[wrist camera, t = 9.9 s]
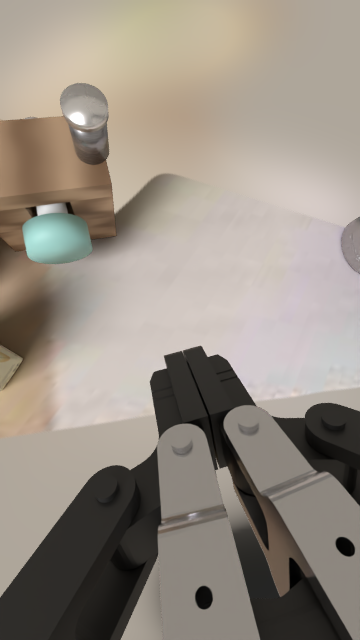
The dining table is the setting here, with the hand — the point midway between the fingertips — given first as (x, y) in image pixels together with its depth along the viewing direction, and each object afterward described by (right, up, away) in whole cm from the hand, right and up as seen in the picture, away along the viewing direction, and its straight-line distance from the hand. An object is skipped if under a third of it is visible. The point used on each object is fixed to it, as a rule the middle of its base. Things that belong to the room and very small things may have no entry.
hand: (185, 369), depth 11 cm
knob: (-14, +15, +20) cm, 29 cm away
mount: (-15, +15, +24) cm, 32 cm away
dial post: (-8, +17, +15) cm, 24 cm away
